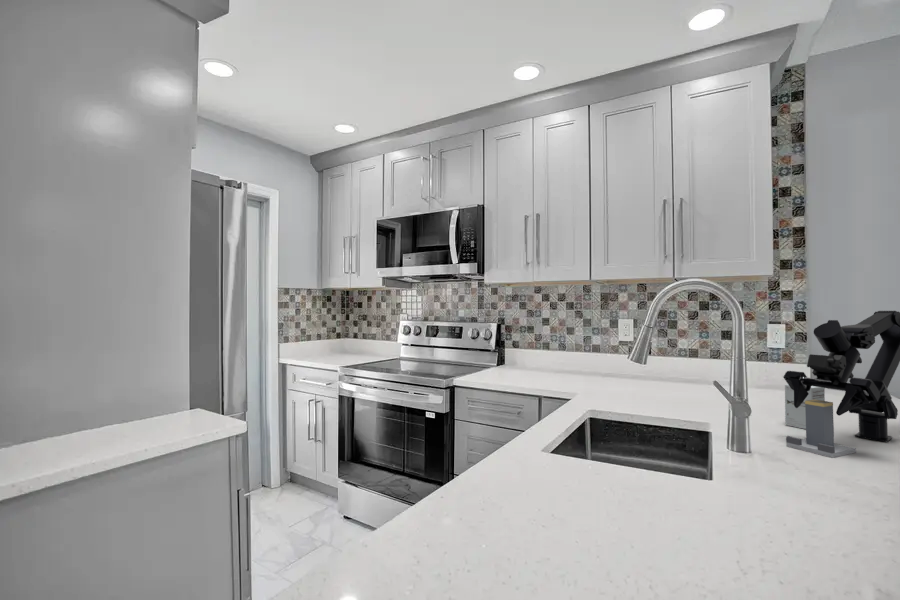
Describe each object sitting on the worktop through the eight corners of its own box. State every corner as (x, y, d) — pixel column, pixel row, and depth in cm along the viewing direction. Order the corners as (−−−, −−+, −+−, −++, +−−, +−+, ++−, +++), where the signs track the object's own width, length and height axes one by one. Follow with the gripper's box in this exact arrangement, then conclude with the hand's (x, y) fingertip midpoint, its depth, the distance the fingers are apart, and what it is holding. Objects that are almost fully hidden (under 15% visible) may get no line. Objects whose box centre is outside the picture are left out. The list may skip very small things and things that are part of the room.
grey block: (815, 442, 114) (814, 399, 114) (834, 446, 110) (832, 402, 110) (806, 443, 112) (805, 400, 112) (824, 448, 108) (823, 403, 109)
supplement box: (784, 425, 134) (783, 384, 135) (798, 422, 137) (797, 382, 138) (812, 431, 128) (811, 387, 128) (826, 428, 131) (825, 385, 131)
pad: (809, 441, 117) (809, 432, 117) (855, 452, 108) (855, 442, 108) (786, 446, 113) (786, 436, 114) (832, 457, 104) (832, 447, 104)
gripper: (786, 341, 122) (762, 384, 117) (872, 345, 105) (847, 396, 100) (804, 368, 125) (781, 410, 120) (890, 376, 107) (867, 427, 103)
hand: (815, 410), depth 111 cm, fingers open, 9 cm apart
